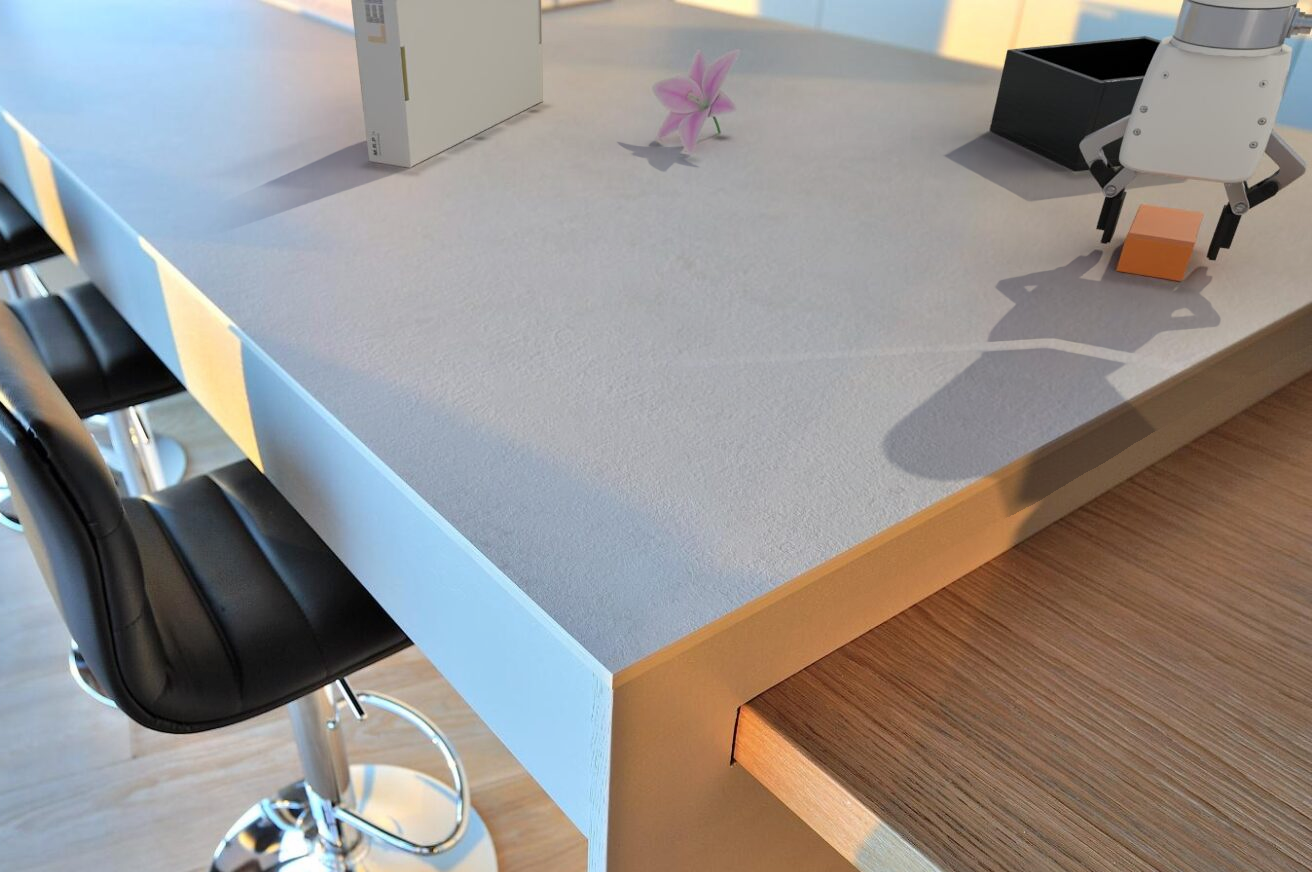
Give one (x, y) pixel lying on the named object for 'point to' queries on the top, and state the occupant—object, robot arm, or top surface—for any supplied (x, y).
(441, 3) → the packaging
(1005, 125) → the black open box
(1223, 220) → the robot arm
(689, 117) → the lily
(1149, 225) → the block
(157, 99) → the top surface
